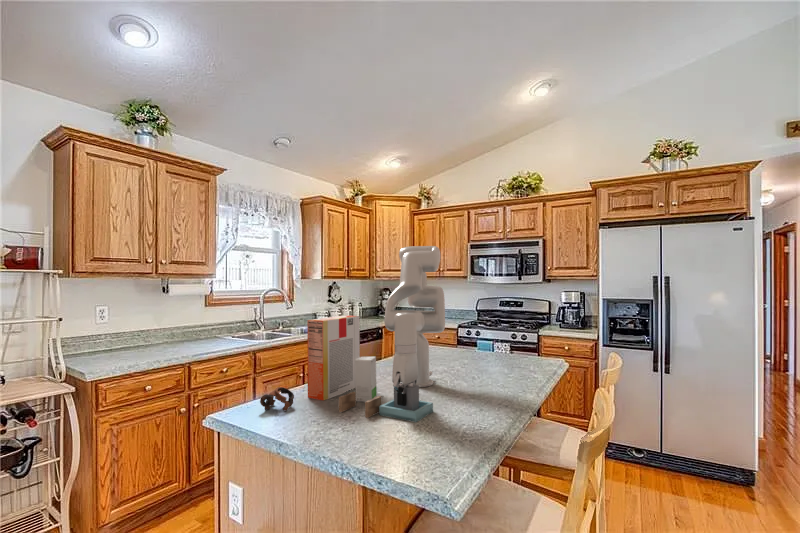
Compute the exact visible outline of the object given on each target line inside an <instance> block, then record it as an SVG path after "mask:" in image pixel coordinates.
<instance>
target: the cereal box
mask: <svg viewBox="0 0 800 533" xmlns="http://www.w3.org/2000/svg"><path fill="white" fill-rule="evenodd" d="M360 331H361V330H360V315H346V314H345V315H339V316H337V315H336V316H329V317H328V316H327V317H321V318H314V319H313V318H312V319H307V398H308V399H314V400H319V401H326V400H329V399H332V398H334V397H337V396H339V395H342V394H344V393H347V392H349V391H348V390H350V391H352V390H354V389H353V388H355V389H356V377H355V360H356V359H357V358H359V357H361V354H360V351H361V350H360V348H361V347H360V346H361V345H360V343H361V342H360V341H361V340H360V335H361V334H360ZM351 389H352V390H351ZM346 391H347V392H346ZM341 393H342V394H341Z"/></svg>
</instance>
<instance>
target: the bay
mask: <svg viewBox="0 0 800 533" xmlns="http://www.w3.org/2000/svg"><path fill="white" fill-rule="evenodd" d="M382 400H383V399H382V396H381V395H377V397H375V398H373V399H370V400H368V401H366V402H364V418H367V419H368V418H371V417H372V416H374V415H377V414H378V413H379V406H381V405H383V403H382ZM356 406H357V401H356V391H351V392H349V393H346V394H344V395H340V396H338V412H339V413H343V412H346V411H348V410H350V409H353V408H355V407H356ZM352 407H353V408H352Z"/></svg>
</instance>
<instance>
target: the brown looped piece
mask: <svg viewBox="0 0 800 533" xmlns="http://www.w3.org/2000/svg"><path fill="white" fill-rule="evenodd" d="M284 394H287V395H288V400H287V397H286V396H283V395H284ZM294 399H295V395H294V393H293V392H292V391H291V390H290V389H288V388H286V387H280V386H279V387H276V388H275V390H272V391H271V392H270V393H269V394H266V393H265V394H263V395H262V396H261V397H260V400H259V402H260V405H261V406H262V407H264V410H270V407H271V406H274V405H275V402H276V400H277V401H279V402H281V403H283V404H284V407H283V408H282V410H283V411H285V412H286V411H288V410H289V408H291V407H292V406H293V404H294Z"/></svg>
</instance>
